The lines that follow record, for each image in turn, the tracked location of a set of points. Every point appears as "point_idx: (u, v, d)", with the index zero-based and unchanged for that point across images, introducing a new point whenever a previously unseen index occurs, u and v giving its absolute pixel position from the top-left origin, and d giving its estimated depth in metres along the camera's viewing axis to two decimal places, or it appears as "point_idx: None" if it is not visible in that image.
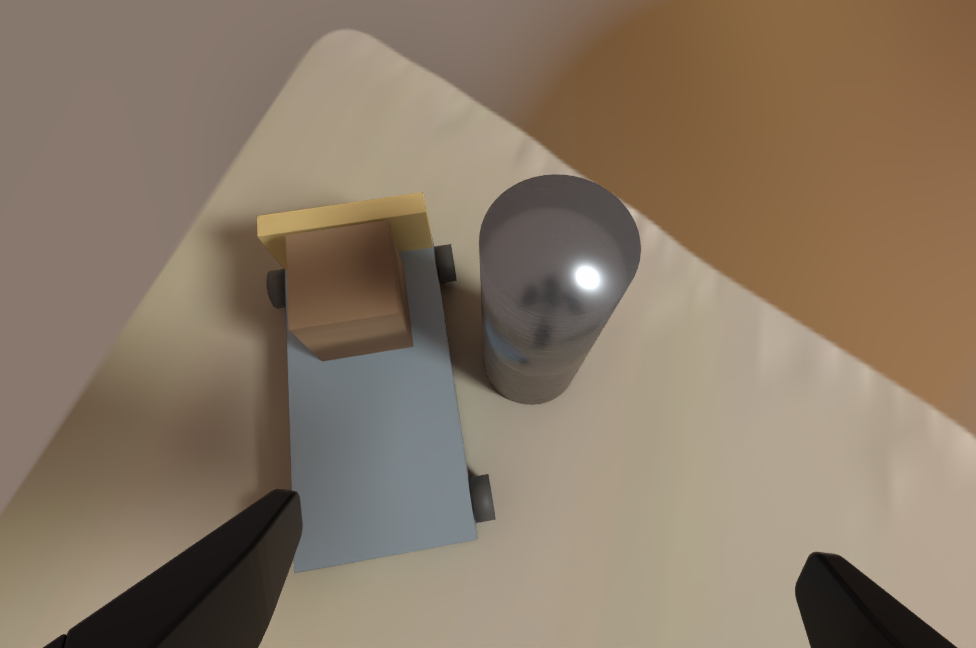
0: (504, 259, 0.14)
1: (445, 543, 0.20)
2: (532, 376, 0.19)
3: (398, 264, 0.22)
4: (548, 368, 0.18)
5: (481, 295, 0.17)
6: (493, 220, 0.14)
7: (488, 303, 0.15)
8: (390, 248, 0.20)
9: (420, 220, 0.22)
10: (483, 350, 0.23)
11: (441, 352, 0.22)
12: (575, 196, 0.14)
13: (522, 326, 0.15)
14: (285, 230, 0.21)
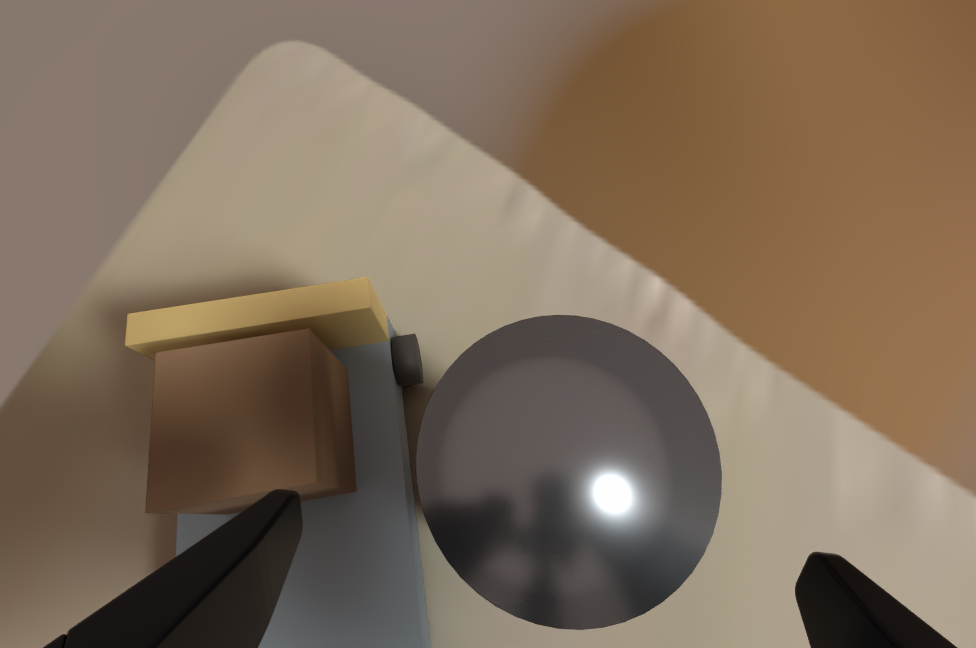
0: (463, 494, 0.07)
1: None
2: None
3: (332, 381, 0.15)
4: None
5: None
6: (444, 409, 0.08)
7: None
8: (310, 373, 0.13)
9: (364, 316, 0.15)
10: None
11: (396, 500, 0.16)
12: (597, 360, 0.08)
13: None
14: (166, 336, 0.15)
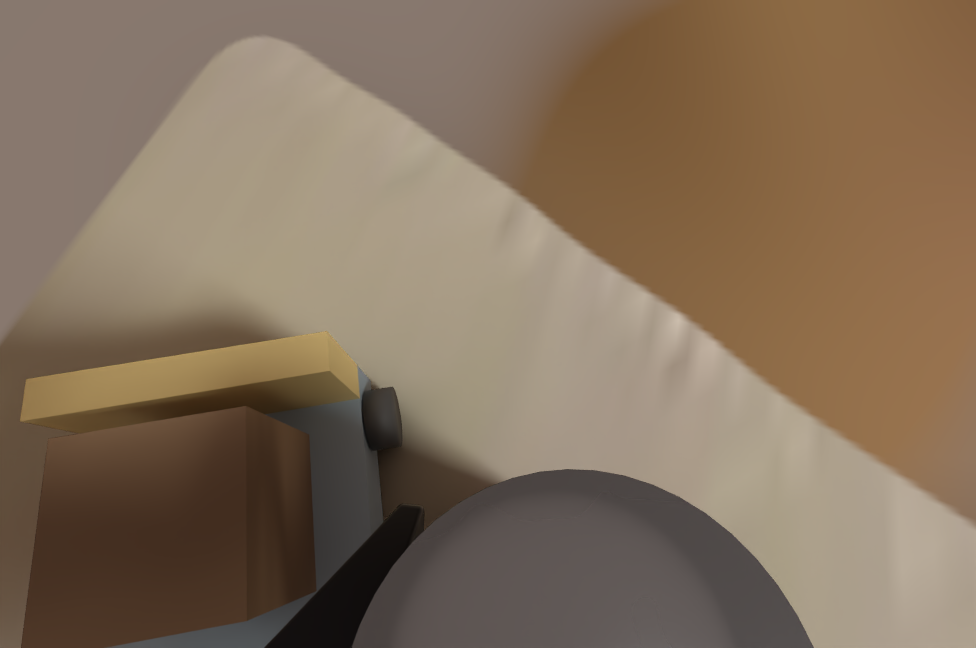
0: None
1: None
2: None
3: (282, 462, 0.12)
4: None
5: None
6: (384, 641, 0.05)
7: None
8: (246, 466, 0.10)
9: (324, 379, 0.13)
10: None
11: None
12: (631, 550, 0.05)
13: None
14: (73, 408, 0.12)
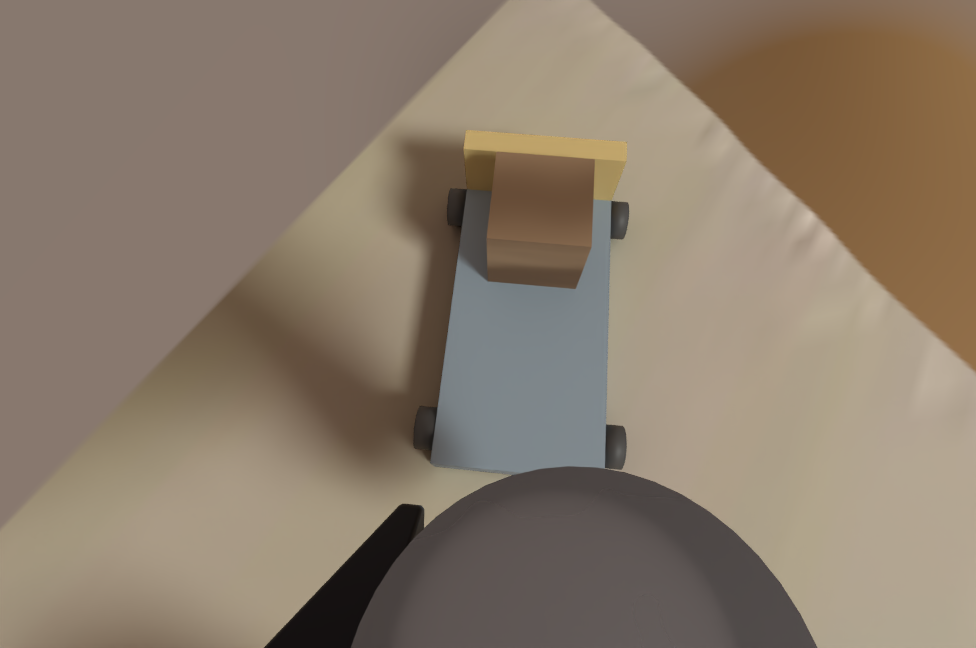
0: None
1: None
2: None
3: None
4: None
5: None
6: (385, 639, 0.05)
7: None
8: (593, 185, 0.20)
9: (616, 169, 0.22)
10: None
11: (602, 300, 0.23)
12: (633, 547, 0.05)
13: None
14: (490, 149, 0.22)
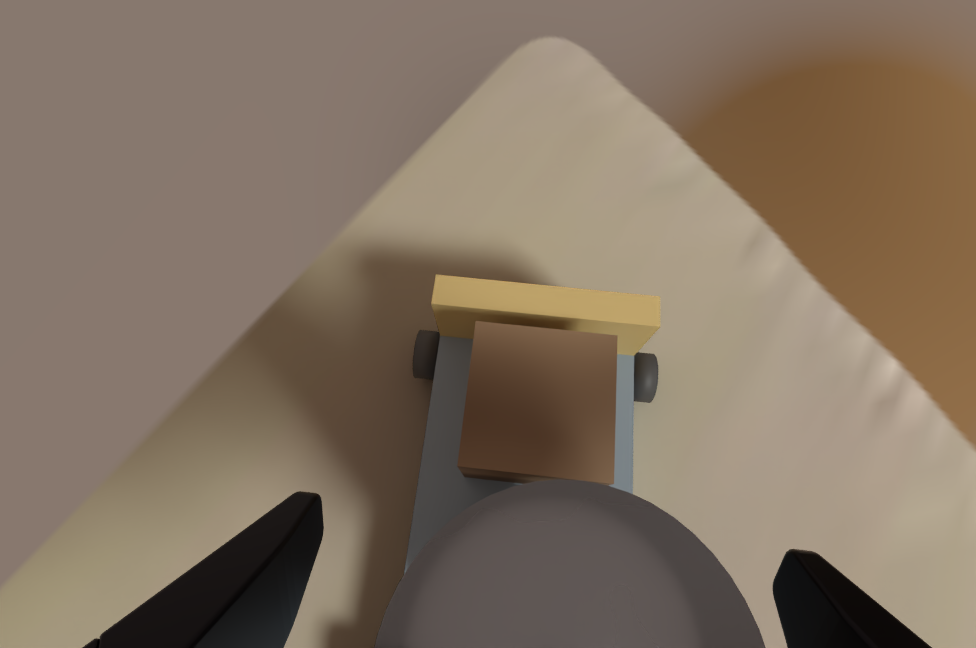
0: None
1: None
2: None
3: None
4: None
5: None
6: (407, 621, 0.06)
7: None
8: (615, 378, 0.14)
9: (644, 332, 0.16)
10: None
11: None
12: (610, 546, 0.06)
13: None
14: (468, 304, 0.16)
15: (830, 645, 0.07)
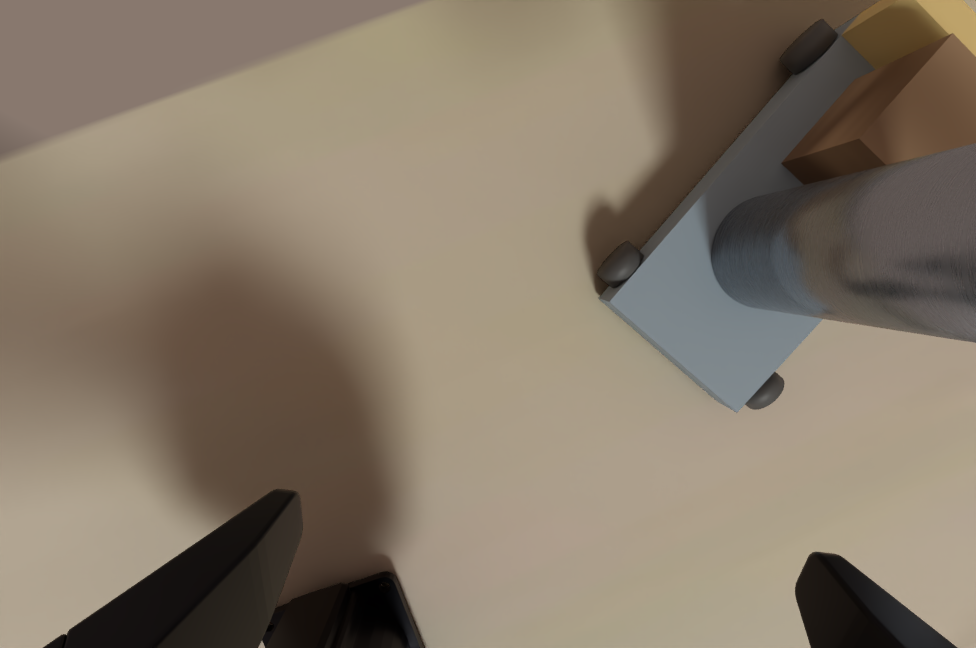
0: None
1: (716, 392, 0.21)
2: (806, 303, 0.15)
3: None
4: (844, 316, 0.14)
5: (879, 201, 0.12)
6: None
7: (906, 231, 0.11)
8: None
9: None
10: (742, 219, 0.18)
11: None
12: None
13: (934, 294, 0.11)
14: (935, 16, 0.16)
15: None
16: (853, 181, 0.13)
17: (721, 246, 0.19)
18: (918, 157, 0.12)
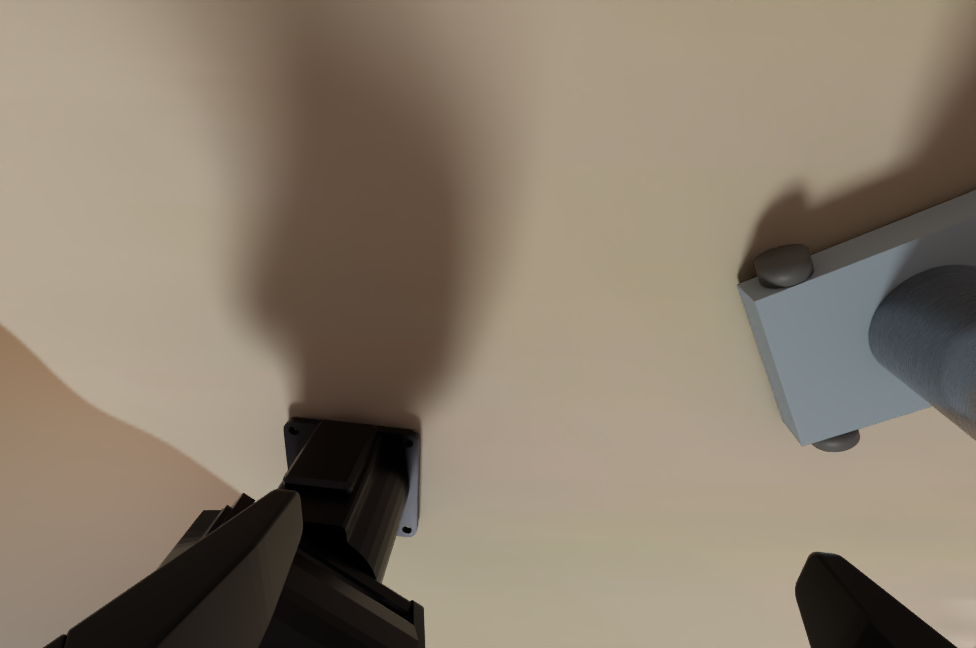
0: None
1: (795, 422, 0.20)
2: (969, 421, 0.14)
3: None
4: None
5: None
6: None
7: None
8: None
9: None
10: (947, 292, 0.16)
11: None
12: None
13: None
14: None
15: None
16: None
17: (902, 303, 0.17)
18: None
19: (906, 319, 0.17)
